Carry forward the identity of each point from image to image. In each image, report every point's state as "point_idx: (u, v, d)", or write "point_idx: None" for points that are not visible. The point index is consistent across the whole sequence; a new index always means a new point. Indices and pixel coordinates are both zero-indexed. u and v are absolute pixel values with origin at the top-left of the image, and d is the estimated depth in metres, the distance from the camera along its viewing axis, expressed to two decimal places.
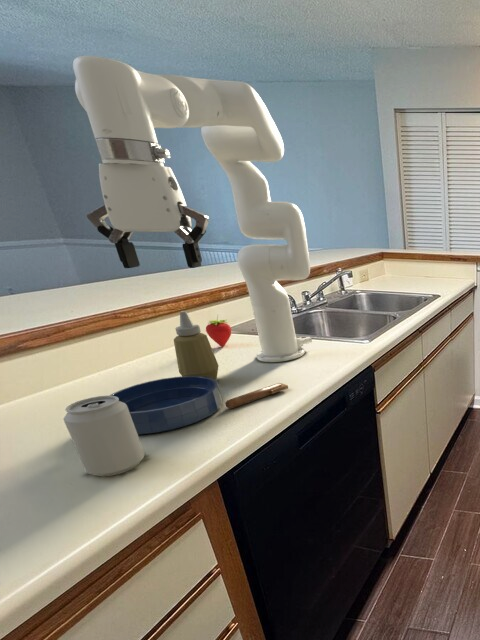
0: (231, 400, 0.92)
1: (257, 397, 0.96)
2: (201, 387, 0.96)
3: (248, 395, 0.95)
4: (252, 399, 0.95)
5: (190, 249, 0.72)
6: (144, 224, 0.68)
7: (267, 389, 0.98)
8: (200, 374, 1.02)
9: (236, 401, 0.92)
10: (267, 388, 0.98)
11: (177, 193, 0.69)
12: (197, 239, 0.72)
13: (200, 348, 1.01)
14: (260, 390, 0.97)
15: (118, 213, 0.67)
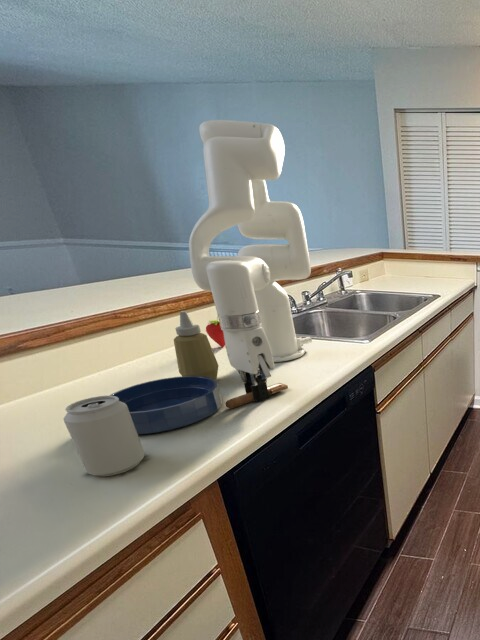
0: (231, 400, 0.92)
1: None
2: (201, 387, 0.96)
3: (248, 395, 0.95)
4: (252, 399, 0.95)
5: (256, 389, 0.95)
6: (241, 367, 0.92)
7: None
8: (200, 374, 1.02)
9: (236, 401, 0.92)
10: (267, 388, 0.98)
11: (260, 347, 0.90)
12: (261, 382, 0.94)
13: (200, 348, 1.01)
14: None
15: (230, 358, 0.93)
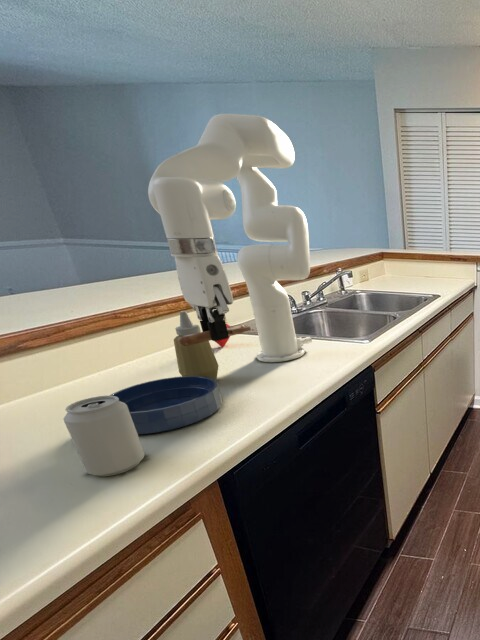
0: (185, 336, 0.84)
1: None
2: (201, 387, 0.96)
3: (204, 333, 0.86)
4: (209, 338, 0.87)
5: (213, 326, 0.87)
6: (195, 301, 0.84)
7: (227, 329, 0.90)
8: (200, 374, 1.02)
9: (190, 337, 0.84)
10: (227, 328, 0.90)
11: (216, 277, 0.82)
12: (218, 319, 0.86)
13: (200, 348, 1.01)
14: None
15: (184, 291, 0.85)
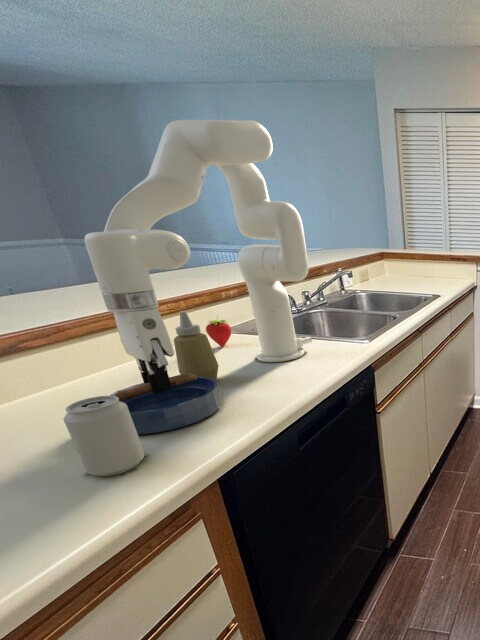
0: (121, 391, 0.81)
1: None
2: (201, 387, 0.96)
3: (144, 386, 0.84)
4: (150, 390, 0.85)
5: (154, 379, 0.84)
6: (134, 354, 0.82)
7: (170, 379, 0.88)
8: (200, 374, 1.02)
9: (127, 391, 0.82)
10: (170, 378, 0.88)
11: (153, 331, 0.80)
12: (158, 371, 0.84)
13: (200, 348, 1.01)
14: None
15: (123, 343, 0.83)
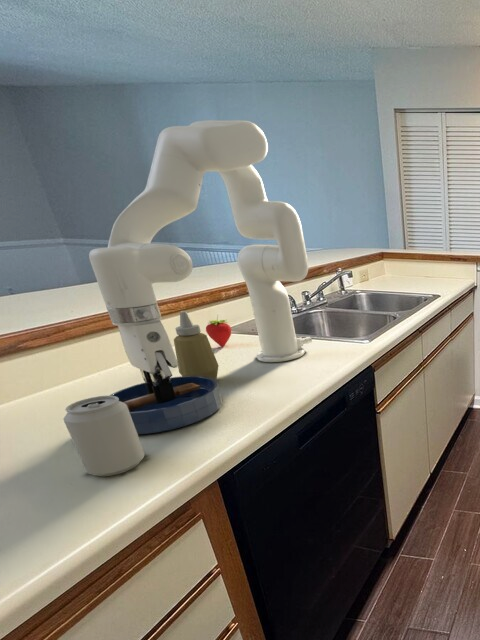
0: (127, 402, 0.83)
1: None
2: (201, 387, 0.96)
3: (149, 396, 0.86)
4: (154, 401, 0.87)
5: (158, 389, 0.86)
6: (139, 366, 0.84)
7: (174, 390, 0.90)
8: (200, 374, 1.02)
9: (133, 403, 0.84)
10: (174, 388, 0.90)
11: (157, 344, 0.82)
12: (163, 382, 0.86)
13: (200, 348, 1.01)
14: None
15: (128, 355, 0.85)
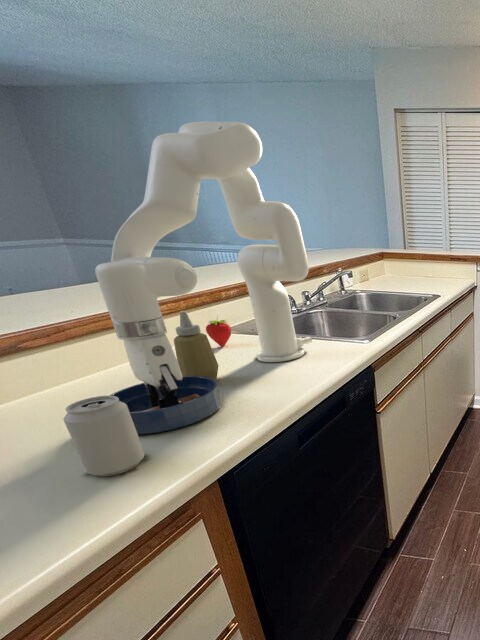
0: None
1: None
2: (201, 387, 0.96)
3: None
4: None
5: (164, 403, 0.86)
6: (144, 379, 0.84)
7: (179, 403, 0.90)
8: (200, 374, 1.02)
9: None
10: (179, 402, 0.90)
11: (162, 357, 0.82)
12: (168, 396, 0.86)
13: (200, 348, 1.01)
14: None
15: (133, 368, 0.85)
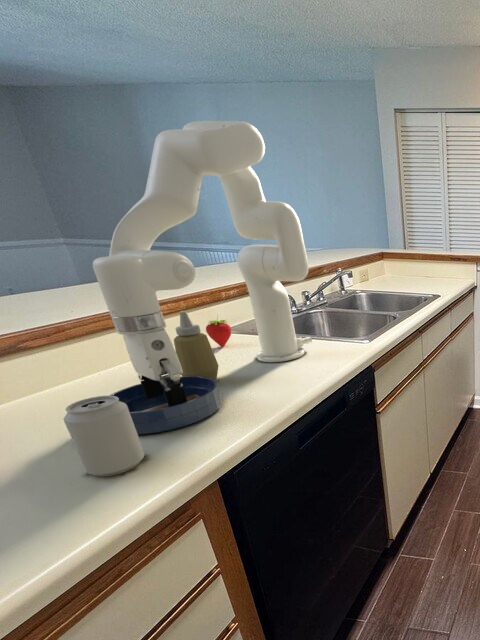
0: None
1: None
2: (201, 387, 0.96)
3: (154, 409, 0.86)
4: None
5: (170, 395, 0.84)
6: (144, 373, 0.84)
7: None
8: (200, 374, 1.02)
9: None
10: None
11: (162, 352, 0.82)
12: (174, 388, 0.84)
13: (200, 348, 1.01)
14: None
15: (133, 363, 0.85)
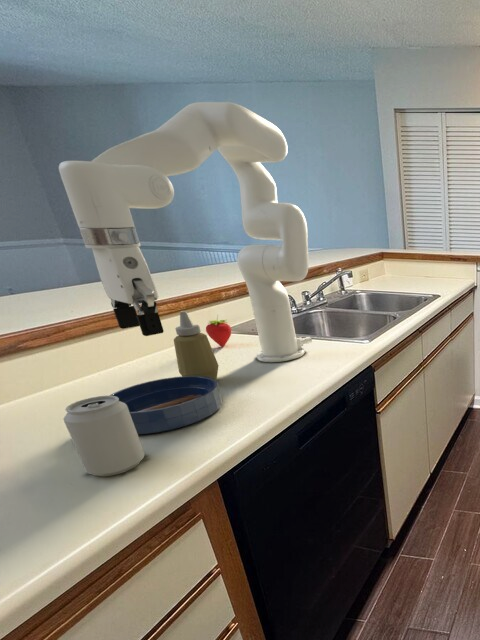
0: None
1: None
2: (201, 387, 0.96)
3: (151, 408, 0.86)
4: None
5: (144, 320, 0.78)
6: (116, 296, 0.78)
7: (176, 400, 0.90)
8: (200, 374, 1.02)
9: None
10: (176, 400, 0.90)
11: (135, 270, 0.76)
12: (148, 311, 0.78)
13: (200, 348, 1.01)
14: (167, 402, 0.89)
15: (104, 285, 0.79)
